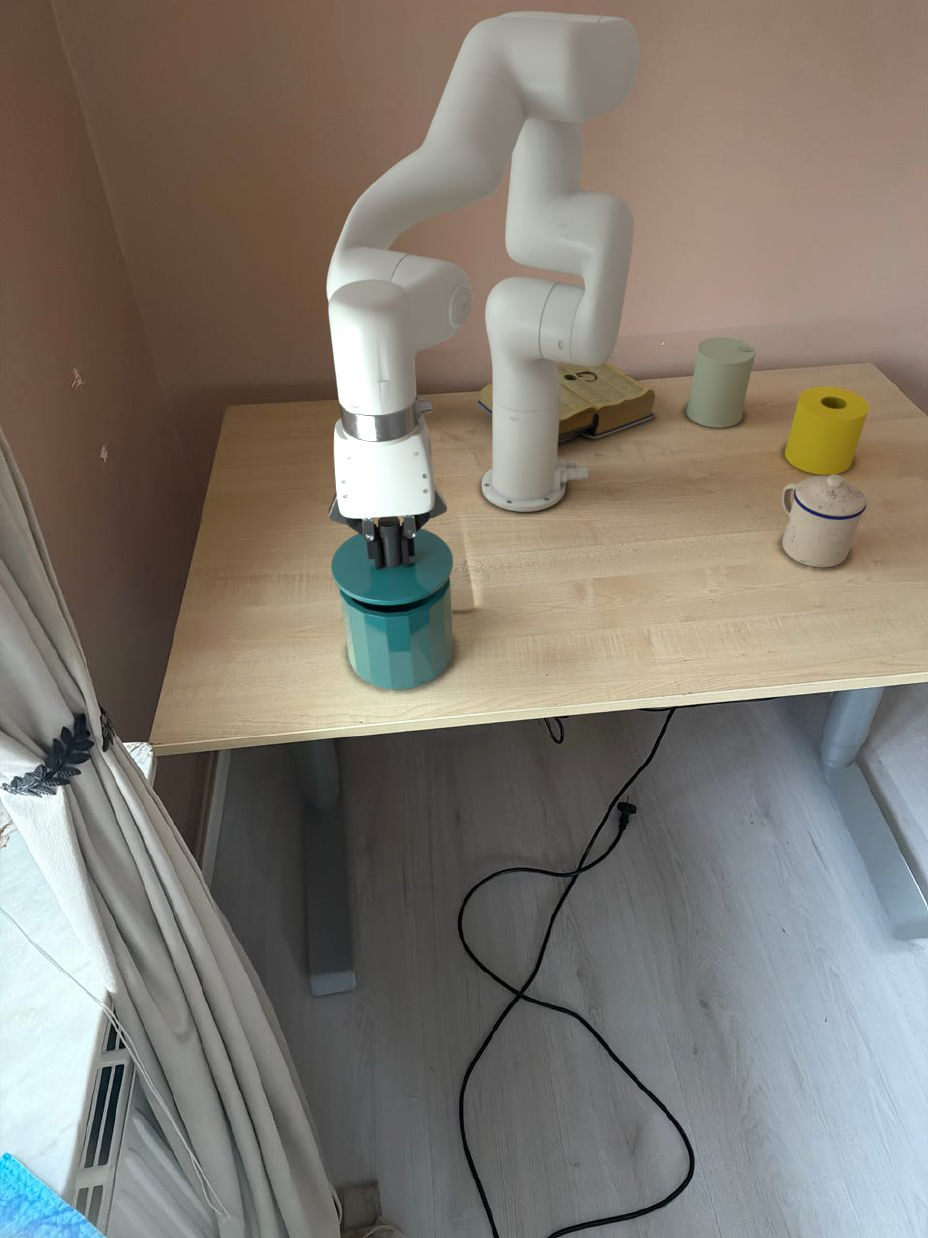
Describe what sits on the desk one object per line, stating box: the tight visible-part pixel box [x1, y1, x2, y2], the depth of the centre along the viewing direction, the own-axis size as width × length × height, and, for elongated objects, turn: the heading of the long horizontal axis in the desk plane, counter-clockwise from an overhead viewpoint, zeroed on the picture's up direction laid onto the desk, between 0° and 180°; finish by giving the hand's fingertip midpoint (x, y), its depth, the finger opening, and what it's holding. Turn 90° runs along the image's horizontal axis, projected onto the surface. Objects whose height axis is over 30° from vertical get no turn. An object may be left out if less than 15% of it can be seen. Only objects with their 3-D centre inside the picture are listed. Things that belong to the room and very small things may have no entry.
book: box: [476, 360, 656, 444], centre depth 148 cm, size 25×17×6 cm
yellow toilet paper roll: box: [784, 386, 870, 476], centre depth 137 cm, size 10×10×9 cm
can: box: [685, 336, 756, 429], centre depth 147 cm, size 9×9×12 cm
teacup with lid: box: [781, 474, 868, 568], centre depth 120 cm, size 12×9×12 cm
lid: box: [330, 516, 454, 605], centre depth 99 cm, size 14×14×7 cm
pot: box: [338, 576, 454, 690], centre depth 106 cm, size 13×13×12 cm
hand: (392, 559), depth 100 cm, fingers closed on lid, 2 cm apart
